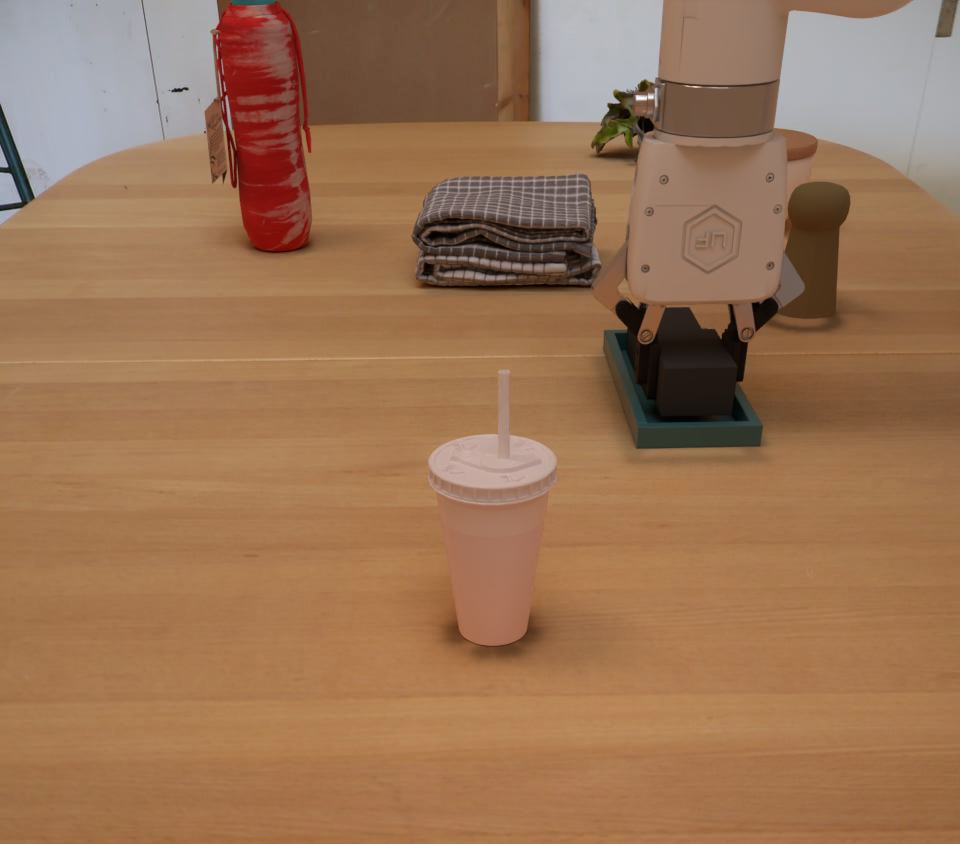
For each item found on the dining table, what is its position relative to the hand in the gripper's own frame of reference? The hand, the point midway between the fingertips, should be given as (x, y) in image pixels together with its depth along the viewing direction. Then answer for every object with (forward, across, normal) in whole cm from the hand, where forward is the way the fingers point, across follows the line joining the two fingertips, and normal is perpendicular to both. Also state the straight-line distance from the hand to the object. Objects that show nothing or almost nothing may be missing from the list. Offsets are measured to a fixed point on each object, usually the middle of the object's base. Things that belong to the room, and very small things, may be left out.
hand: (687, 389), depth 82 cm
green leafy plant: (+3, +10, +96) cm, 97 cm away
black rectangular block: (0, 0, 0) cm, 0 cm away
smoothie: (+2, -15, -28) cm, 32 cm away
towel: (+3, -11, +40) cm, 42 cm away
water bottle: (+2, -37, +51) cm, 63 cm away
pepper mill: (+3, +15, +24) cm, 28 cm away
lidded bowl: (+3, +17, +56) cm, 59 cm away
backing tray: (+2, 0, +4) cm, 5 cm away
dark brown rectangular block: (+2, 0, +10) cm, 10 cm away
